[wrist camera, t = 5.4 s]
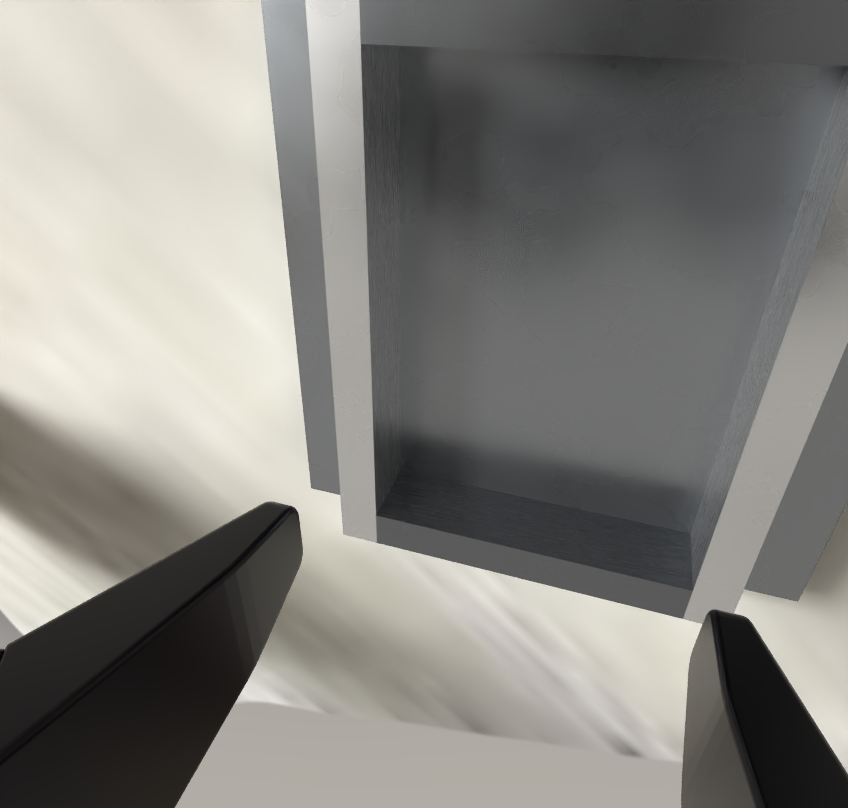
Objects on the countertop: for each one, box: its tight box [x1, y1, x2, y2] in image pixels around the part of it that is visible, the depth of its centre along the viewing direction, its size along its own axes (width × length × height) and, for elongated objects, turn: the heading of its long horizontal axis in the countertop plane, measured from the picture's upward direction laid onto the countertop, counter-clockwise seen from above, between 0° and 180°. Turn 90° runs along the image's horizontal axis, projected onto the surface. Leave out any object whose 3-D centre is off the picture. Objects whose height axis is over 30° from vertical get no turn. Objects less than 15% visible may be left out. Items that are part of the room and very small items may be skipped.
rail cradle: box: [261, 0, 848, 624], centre depth 12 cm, size 14×21×3 cm, turn 179°
